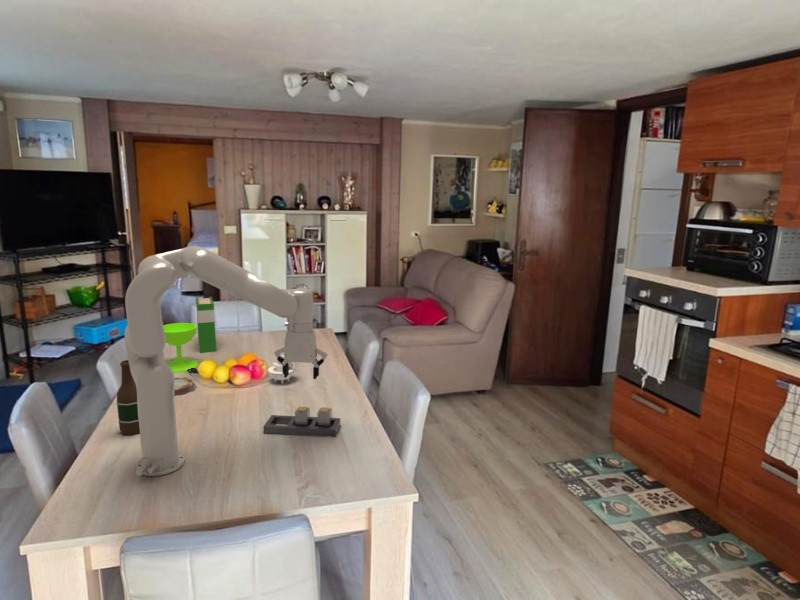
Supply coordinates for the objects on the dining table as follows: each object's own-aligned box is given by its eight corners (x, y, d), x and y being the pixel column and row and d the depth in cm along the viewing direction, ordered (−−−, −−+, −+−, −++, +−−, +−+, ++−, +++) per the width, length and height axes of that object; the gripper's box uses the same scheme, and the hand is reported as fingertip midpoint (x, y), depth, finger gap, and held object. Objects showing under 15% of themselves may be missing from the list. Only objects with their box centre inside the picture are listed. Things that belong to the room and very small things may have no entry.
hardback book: (198, 343, 267) (195, 297, 262) (213, 341, 270) (211, 296, 265) (200, 353, 252) (197, 304, 247) (216, 351, 254) (213, 303, 249)
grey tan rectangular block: (329, 433, 173) (329, 411, 171) (317, 432, 173) (317, 411, 172) (331, 427, 177) (331, 406, 175) (320, 427, 177) (319, 406, 175)
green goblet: (190, 373, 225) (187, 332, 221) (153, 372, 225) (150, 331, 221) (204, 361, 240) (202, 323, 237) (170, 360, 241) (167, 322, 237)
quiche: (181, 377, 221) (181, 368, 220) (215, 387, 212) (215, 377, 211) (136, 393, 203) (135, 384, 202) (171, 405, 194) (170, 395, 193)
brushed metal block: (307, 432, 173) (306, 411, 172) (295, 431, 173) (294, 410, 172) (309, 426, 177) (309, 406, 175) (298, 426, 177) (297, 405, 176)
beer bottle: (116, 437, 167) (109, 366, 162) (122, 426, 174) (116, 358, 169) (143, 434, 169) (137, 364, 164) (148, 424, 176) (142, 356, 171)
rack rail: (340, 424, 179) (340, 418, 179) (335, 436, 170) (335, 430, 170) (271, 421, 180) (271, 415, 180) (263, 433, 172) (263, 426, 171)
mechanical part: (263, 383, 215) (262, 356, 212) (278, 374, 226) (278, 348, 223) (287, 387, 211) (286, 359, 209) (301, 377, 222) (301, 351, 220)
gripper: (271, 328, 165) (271, 379, 168) (325, 331, 164) (324, 382, 167) (277, 322, 172) (278, 371, 175) (329, 325, 171) (329, 374, 175)
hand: (300, 377), depth 171 cm, fingers open, 9 cm apart
